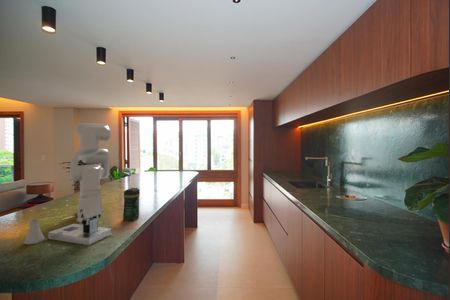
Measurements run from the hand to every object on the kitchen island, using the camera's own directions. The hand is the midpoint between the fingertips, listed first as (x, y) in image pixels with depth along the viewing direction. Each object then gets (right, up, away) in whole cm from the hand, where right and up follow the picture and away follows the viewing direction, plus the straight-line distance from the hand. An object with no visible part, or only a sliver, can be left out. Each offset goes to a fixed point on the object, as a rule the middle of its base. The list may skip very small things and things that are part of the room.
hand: (90, 230), depth 109 cm
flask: (-23, -3, -5) cm, 24 cm away
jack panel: (-6, -3, +2) cm, 7 cm away
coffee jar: (+7, -4, +30) cm, 31 cm away
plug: (0, -3, 0) cm, 3 cm away
